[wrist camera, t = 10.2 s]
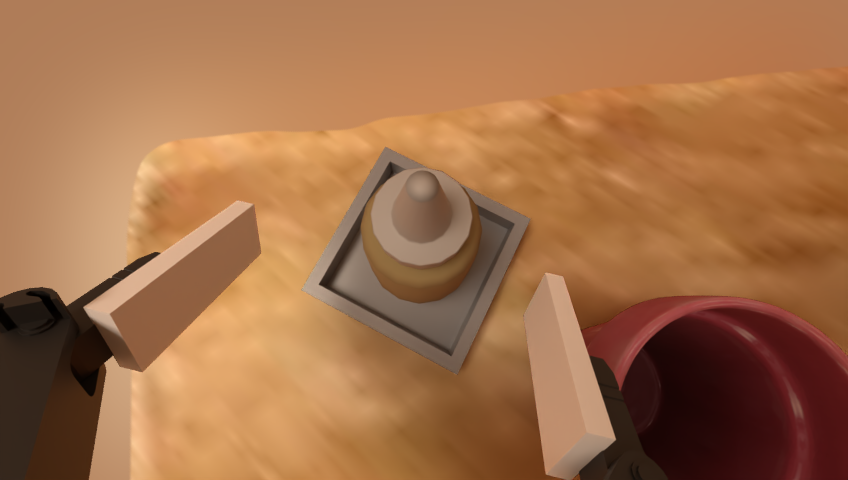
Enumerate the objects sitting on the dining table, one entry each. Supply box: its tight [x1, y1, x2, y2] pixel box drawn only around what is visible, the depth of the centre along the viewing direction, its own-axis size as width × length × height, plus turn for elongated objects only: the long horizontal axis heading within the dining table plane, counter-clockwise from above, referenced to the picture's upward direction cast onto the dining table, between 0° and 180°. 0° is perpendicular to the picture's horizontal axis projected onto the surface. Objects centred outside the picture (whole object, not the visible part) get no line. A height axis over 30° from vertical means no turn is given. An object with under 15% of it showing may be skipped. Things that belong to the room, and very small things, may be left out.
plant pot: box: [581, 296, 848, 480], centre depth 21 cm, size 14×14×13 cm
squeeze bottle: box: [360, 167, 482, 304], centre depth 20 cm, size 8×8×18 cm
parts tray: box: [302, 147, 530, 374], centre depth 28 cm, size 14×14×3 cm
